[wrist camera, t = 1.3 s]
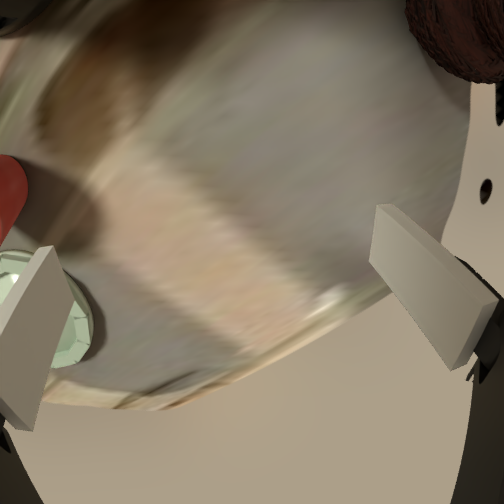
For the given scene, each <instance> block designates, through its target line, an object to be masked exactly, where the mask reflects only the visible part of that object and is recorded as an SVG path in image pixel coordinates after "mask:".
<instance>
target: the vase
mask: <svg viewBox="0 0 504 504" xmlns="http://www.w3.org/2000/svg"><path fill="white" fill-rule="evenodd" d="M431 4H432V5H431ZM431 9H432V10H431ZM405 14H406V17H407V20H408V23H409V27H410V29H409V30H410V32H411V33H413V35H414V36H415V37H416V38H417V40H418V42H419V43H420V44H421V46H422V47H423V49H424V50H426V51H427V52H428V55H429V56H430V57H431V58H432V59H434V60H435V62H436V63H437V64H438V65H439V66H441V67H443V68H444V69H445V70H446V71H447V72H448V71H449V73H451V74H454V75H455V76H456V77H459V78H463V79H464V80H466V81H468V82H474V83H477V84H479V83H486V84H493V83H498V81H503V80H504V0H406V9H405ZM421 15H422V17H421ZM423 25H424V26H423ZM443 26H444V28H443ZM428 31H429V32H428ZM437 46H438V47H437Z"/></svg>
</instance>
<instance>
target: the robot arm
mask: <svg viewBox="0 0 504 504" xmlns="http://www.w3.org/2000/svg"><path fill="white" fill-rule="evenodd" d="M51 2H52V0H0V36H3V35H6V34H9V33H12V32H14V31H16V30H18V29H20V28H22V27H23V26H25V25H26V24H28V23H29V22H31V21H32V20H33V19H34V18H36V17H37V16H38V15H39V14H40V13H41V12H42V11H43V10H44V9H45V8H46V7H47V6H48V5H49V4H50V3H51ZM369 262H370V264H371V265H372V266H373V267H374V269H375V270H376V271H377V272H378V274H379V275H380V276H381V277H382V279H383V280H384V281H385V282H386V284H387V285H388V286H389V288H390V289H391V290H392V291H393V293H394V294H395V295H396V297H397V298H398V299H399V301H400V302H401V303H402V304H403V306H404V307H405V308H406V310H407V311H408V312H409V314H410V315H411V316H412V318H413V319H414V321H415V322H416V323H417V325H418V326H419V327H420V329H421V330H422V331H423V333H424V334H425V336H426V337H427V338H428V340H429V341H430V343H431V344H432V346H433V347H434V348H435V350H436V351H437V353H438V354H439V356H440V357H441V358H442V360H443V361H444V363H445V364H446V366H447V367H448V369H449V370H450V371H452V370H454V369H457V368H459V367H461V366H464V365H465V364H467V362H468V361H469V359H470V357H471V355H472V353H473V352H475V354H476V355H477V356H478V359H477V361H476V362H475V364H474V366H473V367H472V369H471V371H470V372H469V374H468V376H467V378H466V381H469V379H470V378H471V376H472V375H473V374H474V380H473V381H472V382H473V391H472V400H471V408H470V416H469V422H468V429H467V435H466V440H465V446H464V451H463V456H462V460H461V465H460V469H459V473H458V477H457V482H456V485H455V489H454V492H453V496H452V499H451V503H450V504H504V298H503V297H502V296H501V295H500V294H499V293H497V291H496V290H495V289H494V288H493V287H492V286H491V285H490V284H489V283H488V282H487V281H485V279H482V277H481V276H480V275H479V274H478V273H476V272H475V270H474V269H473V268H472V267H471V266H470V265H469V264H467V263H466V262H465V261H463V260H461V259H459V258H458V257H456V256H453V255H452V254H451V253H450V252H449V251H448V250H447V249H446V248H444V247H443V246H442V245H441V244H440V243H439V242H438V241H436V240H435V239H434V238H433V237H432V236H431V235H430V234H428V233H427V232H426V231H425V230H424V229H423V228H421V227H420V226H419V225H418V224H417V223H415V222H414V221H413V220H412V219H411V218H409V217H408V216H407V215H406V214H404V213H403V212H402V211H401V210H399V209H398V208H397V207H396V206H394V205H393V204H380V205H377V206H376V215H375V223H374V230H373V237H372V244H371V251H370V257H369ZM74 301H75V299H74V296H73V294H72V292H71V289H70V287H69V285H68V282H67V280H66V277H65V275H64V272H63V270H62V267H61V264H60V262H59V259H58V256H57V254H56V251H55V248H54V245H52V246H46V247H40V248H38V249H37V251H36V252H35V254H34V255H33V256H32V258H31V259H30V261H29V262H28V264H27V265H26V267H25V268H24V270H23V271H22V273H21V274H20V276H19V277H18V279H17V280H16V282H15V283H14V285H13V287H12V288H11V290H10V291H9V293H8V295H7V296H6V298H5V299H4V301H3V303H2V304H1V306H0V504H44V503H43V501H42V500H41V498H40V496H39V495H38V493H37V491H36V489H35V487H34V485H33V484H32V482H31V480H30V478H29V476H28V474H27V472H26V470H25V468H24V466H23V464H22V462H21V460H20V458H19V455H18V453H17V451H16V449H15V447H14V445H13V442H12V440H11V437H10V435H9V433H8V432H7V430H6V429H5V428H4V427H3V426H4V422H5V419H6V420H7V421H8V422H9V423H10V424H11V425H12V426H13V427H14V428H15V429H18V430H25V431H33V429H34V425H35V421H36V417H37V413H38V409H39V405H40V401H41V398H42V394H43V391H44V387H45V384H46V380H47V377H48V374H49V371H50V368H51V364H52V361H53V358H54V355H55V352H56V349H57V346H58V344H59V341H60V338H61V335H62V332H63V330H64V327H65V324H66V322H67V319H68V316H69V314H70V311H71V309H72V306H73V304H74Z"/></svg>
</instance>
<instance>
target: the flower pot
mask: <svg viewBox="0 0 504 504" xmlns="http://www.w3.org/2000/svg"><path fill="white" fill-rule="evenodd" d="M27 196H28V181H27V177H26V174H25V172H24V170H23V168H22V167H21V165H20V164H19V163H18V162H17V161H16V160H15V159H13V158H12V157H10V156H8V155H0V246H1V244H2V242H3V241H4V239H5V237H6V236H7V234H8V232H9V231H10V229H11V227H12V225H13V224H14V222H15V220H16V219H17V217H18V215H19V213H20V211H21V210H22V208H23V206H24V204H25V202H26V199H27Z"/></svg>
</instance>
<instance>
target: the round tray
mask: <svg viewBox="0 0 504 504" xmlns="http://www.w3.org/2000/svg"><path fill="white" fill-rule="evenodd" d="M33 255H34V253H32V252H28V251H24V250H15V249H13V250H5V251H1V252H0V306H1V304H2V303H3V301H4V299H5V298H6V296H7V295H8V293H9V291H10V290H11V288H12V287H13V285H14V283H15V282H16V280H17V279H18V277H19V276H20V274H21V273H22V271H23V270H24V268H25V267H26V265H27V264H28V262H29V261H30V259H31V258H32V256H33ZM63 272H64V271H63ZM64 275H65V277H66V280H67V282H68V285H69V287H70V289H71V292H72V294H73V296H74V299H75V301H74V304H73V306H72V309H71V311H70V314H69V316H68V319H67V322H66V324H65V327H64V330H63V332H62V335H61V338H60V341H59V344H58V346H57V349H56V352H55V355H54V358H53V361H52V364H51V368H60V367H64V366H68V365H72V364H76V363H77V362H79V361H80V359H81V358H82V356H83V355H84V354H85V352H86V351H87V350H88V348H89V347H90V344H91V341H92V336H93V332H94V319H93V314H92V311H91V308H90V305H89V303H88V301H87V299H86V297H85V295H84V294H83V292H82V291H81V289H80V288H79V287H78V285H77V284H76V283H75V282H74V281H73V279H72V278H71V277H70V276H69V275H68V274H67V273H65V272H64Z"/></svg>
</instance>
